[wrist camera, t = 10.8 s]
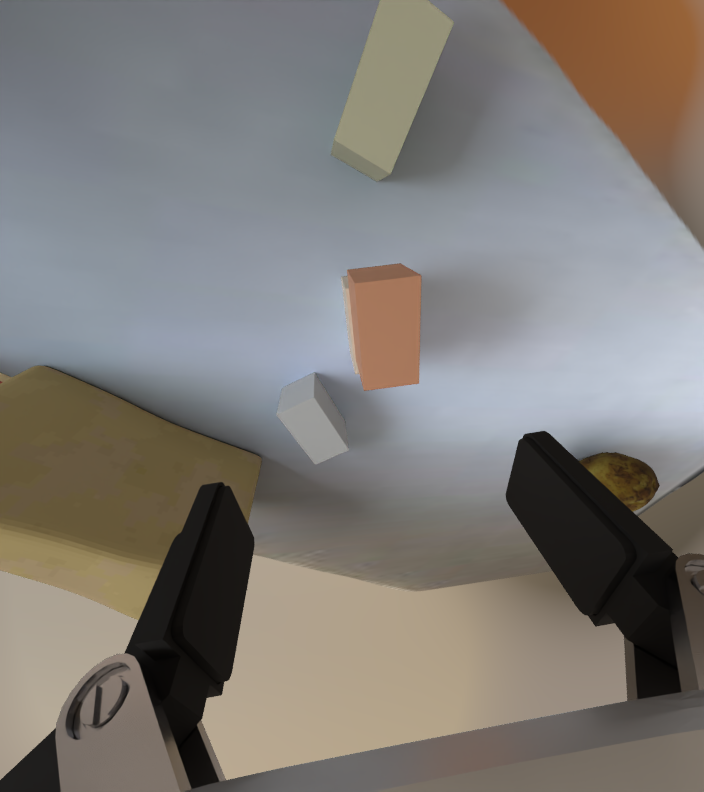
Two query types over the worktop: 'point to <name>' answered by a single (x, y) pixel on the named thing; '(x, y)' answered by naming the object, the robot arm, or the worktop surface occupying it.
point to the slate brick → (313, 419)
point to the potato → (624, 477)
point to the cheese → (100, 487)
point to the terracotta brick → (386, 324)
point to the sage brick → (390, 84)
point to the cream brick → (349, 321)
